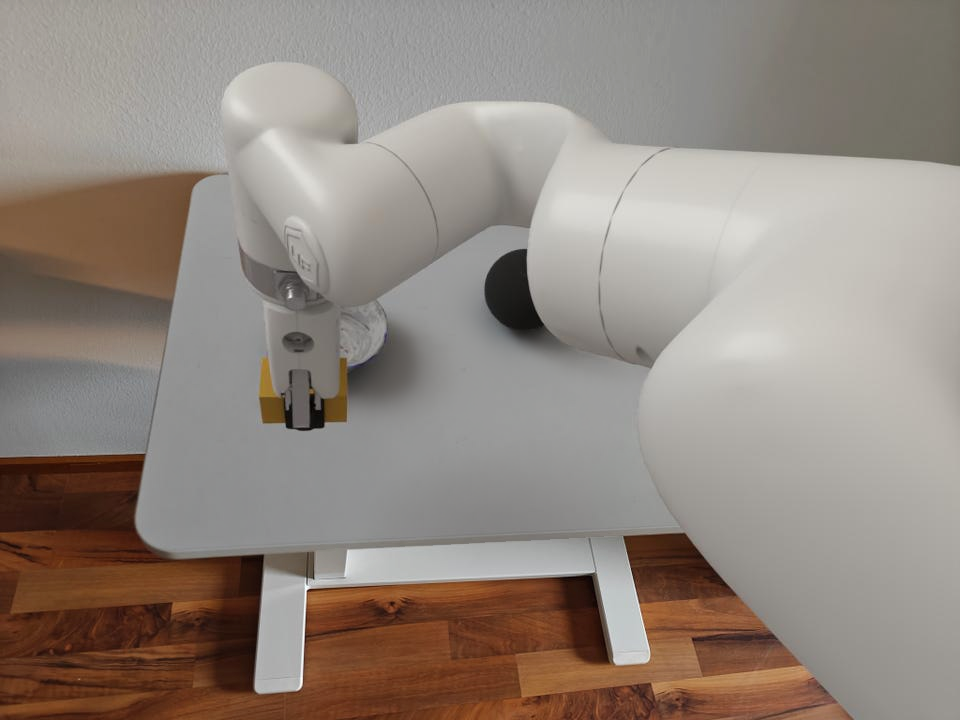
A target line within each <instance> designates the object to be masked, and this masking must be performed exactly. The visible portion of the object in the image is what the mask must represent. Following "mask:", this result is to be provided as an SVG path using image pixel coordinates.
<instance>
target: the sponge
mask: <svg viewBox="0 0 960 720" xmlns="http://www.w3.org/2000/svg"><path fill="white" fill-rule="evenodd" d="M260 363H261V364H260V379H259V392H258V400H259V407H260V415H261V420H262V424H285V414H284V404H283V401H284V398H285V396H282V399H281V398H279V397H278V396H277V395H276V394H275V393H274V390H273V386H272V380H271V373H270V366H269V358H268V357H262V358H261V362H260ZM309 392H310V394H314V389H309ZM324 411H325V423H347V421H348V373H347V358H340V370H339V392H338V394H337V395H336V396H335V397H334V398H327V399H324Z"/></svg>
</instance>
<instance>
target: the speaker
mask: <svg viewBox="0 0 960 720" xmlns="http://www.w3.org/2000/svg"><path fill="white" fill-rule="evenodd" d="M483 286H484V289H483V292H484V293H483V294H484V299H485V300H484V301H485V303H486V305H487V308H488V310H489V311H490V314H491V315H492V316H493V317H494V318H495V319H496V320H497V321H498V322H499V323H501V325H503V326H505V327H507V328H510V329H513V330H515V331H521V332H522V331H524V332H526V331H527V332H528V331H533V330H538V329H540V328H543V327H546V326H545V325H544V323H543V322H542V320H541V319H540V317H539V315H538V313H537V311H536V309H535V306H534V303H533V300H532V297H531V293H530V288H529V282H528V275H527V248H519V249H513V250H511V251H508V252H506V253H505V254H502V255H501V256H500V257H499V258H498V259H496V261H494V263H493V264H492V265H491V267H490V269H489V270H488V272H487V274H486V277H485V280H484V285H483Z"/></svg>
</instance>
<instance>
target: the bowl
mask: <svg viewBox="0 0 960 720" xmlns="http://www.w3.org/2000/svg"><path fill="white" fill-rule="evenodd" d="M388 333H389V322H388V317H387V314H386V311H385V310H384V308H383V306H382V305H381V304H380V302H379V300H377V299H376V300H374V301H372V302H370V303H368V304H365V305H362V306H358V307H343V306H340V358H347V374H348V373H350V372H351V371H354V370H355V369H356V368H358V367H360V366H362V365H365V364H366V363H368V362H370V361H371V360H372V359H373V358H375V357H377V356H378V354H379V353H380V351H381V350H382V349H383V347H384V345H386V342H387V337H388Z"/></svg>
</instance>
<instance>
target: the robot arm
mask: <svg viewBox="0 0 960 720" xmlns="http://www.w3.org/2000/svg"><path fill="white" fill-rule="evenodd" d="M220 124H221V131H222V139H223V145H224V153H225V159H226V160H225V161H226V166H227V172H228V181H229V188H230V194H231V200H232V201H231V202H232V210H233V215H234V216H233V217H234V223H235V231H236V237H237V238H236V239H237V245H238V253H239V259H240V266H241V273H242V277H243V279H244V281H245V283H246V285H247V286H248V288H249V289H250V290H251V291H252V292H253V293H254V294H255V295H257V296H259V297H260V298H261V300H262V301H261V302H262V310H263V311H262V312H263V322H264V331H265V340H266V341H265V342H266V350H267V358H269V366H270V373H271V380H272V386H273V390H274V393H275V394H276V395H277V396H278V397H279V398H281V399H282V396H285V398H284V401H283V404H284V414H285V423H284V424H285V428H286V429H288V430H296V431H299V432H310V431H313V430H319V429H323V428H325V426H326V425H325V423H326V422H325V411H324V399H327V398H334V397H335V396H336V395H337V394H338V392H339V370H340V306H343V307H358V306H362V305H365V304H368V303H370V302H372V301H374V300H377V299H380V298H381V297H383V296H384V295H386V294H388V293H389V292H391V291H392V290H394V289H395V288H396V287H398V286H400V285H402V284H403V283H404V282H406V281H407V280H409V279H411V278H412V277H413V276H415V275H417V274H418V273H420V272H421V271H423V270H424V269H426V268H427V267H429V266H430V265H432V264H433V263H435V262H436V261H437V260H439V259H441V258H442V257H444V256H445V255H447V254H448V253H450V252H451V251H454V249H456V248H458V247H459V246H461V245H463V244H464V243H466V242H467V241H469V240H470V239H472V238H474V237H475V236H477V235H479V234H480V233H482V232H484V231H485V230H486V229H488V228H491V227H495V226H508V227H509V226H510V227H517V228H524V229H529V230H528V231H529V233H528V239H527V248H526V249H527V275H528V282H529V288H530V293H531V297H532V300H533V303H534V306H535V309H536V311H537V313H538V315H539V317H540V319H541V320H542V322H543V323H544V325H545V326H544V327H546V329H547V330H548V331H549V332H550V333H551V334H552V335H553V336H554V337H556V338H557V339H558V340H559V341H560V342H562V343H564V345H565V344H566V345H568V346H569V347H571V348H575V349H577V350H580V351H583V352H587V353H591V354H594V355H599V356H602V357H606V358H610V359H614V360H617V361H621V362H624V363H627V364H631V365H638V366H641V367H644V368H648V369H650V370H649V372H648V374H647V376H646V378H645V380H644V382H643V385H642V387H641V390H640V395H639V398H638V401H637V406H636V407H637V408H636V433H637V438H638V445H639V449H640V454H641V457H642V461H643V464H644V466H645V469H646V470H647V473H648V475H649V477H650V480H651V482H652V483H653V485H654V488H655V491H656V492H657V494H658V496H659V498H660V499H661V501H662V503H663V504H664V506H665V507H666V509H667V511H668V512H669V514H670V515H671V516H672V518H673V519H674V520H675V522H676V523H677V524H678V526H679V527H680V528H681V530H682V531H683V532H684V533H685V535H686V536H687V538H688V540H690V541H691V543H692V544H693V546H694V547H695V548H696V549H697V550H698V552H699V553H700V554H701V556H702V557H703V558H704V560H706V562H707V563H708V564H709V565H710V566H711V568H712V569H713V570H714V571H715V572H716V573H717V575H718V576H719V577H720V578H721V579H722V580H723V582H725V584H726V585H727V586H728V587H729V588H730V589H731V590H732V591H733V592H734V593H735V595H736V596H737V597H738V598H739V599H740V600H741V601H742V603H744V605H745V606H747V608H749V609H750V611H751V612H752V613H753V614H754V615H755V616H756V617H757V618H758V619H759V620H760V622H761V623H762V624H763V625H764V626H765V627H766V628H767V629H768V630H769V631H770V632H771V634H773V635H774V637H776V639H777V640H778V641H779V642H780V643H781V644H782V645H783V646H784V647H785V648H786V649H787V650H788V652H790V654H792V656H794V657H795V658H796V660H797V661H798V662H799V663H800V664H801V665H802V666H803V667H804V668H805V669H806V670H807V672H809V674H810V675H811V676H812V677H813V678H814V679H815V680H816V681H817V682H818V683H819V685H821V687H823V689H824V690H825V691H826V692H828V694H829V695H830V696H831V697H832V698H833V699H834V700H835V701H836V702H837V703H838V704H839V705H840V707H841V708H842V709H843V710H844V711H845V712H846V713H847V714H848V715H849V716H850V717H851V719H852V720H960V165H953V164H947V163H941V162H934V161H925V160H911V159H899V158H880V157H862V156H844V155H827V154H809V153H806V154H805V153H804V154H803V153H790V152H767V151H765V152H764V151H750V150H749V151H745V150H730V149H729V150H727V149H709V148H708V149H707V148H689V147H678V146H652V145H638V144H629V143H628V144H627V143H617V142H615V141H614V140H613V139H612V138H611V136H610V135H609V134H608V133H606V132H605V131H604V130H603V129H601V128H600V127H599V126H598V125H597V124H595V123H593V122H592V121H590V120H589V119H586V118H584V116H582V115H580V114H578V113H576V112H575V111H574V110H572V109H570V108H567V107H565V106H563V105H559V104H556V103H551V102H545V101H544V102H543V101H530V100H529V101H527V100H508V101H507V100H475V101H462V102H461V101H460V102H453V103H449V104H445V105H440V106H437V107H435V108H431V109H429V110H427V111H425V112H422V113H421V114H418V115H415V116H414V117H411V118H409V119H407V120H404V121H402V122H400V123H398V124H395V125H394V126H391V127H390V128H388V129H386V130H384V131H381V132H380V133H377V134H375V135H373V136H370V137H369V138H367V139H365V140H363V141H360V142H359V113H358V107H357V104H356V102H355V100H354V97H353V95H352V93H351V91H350V90H349V88H347V86H346V85H345V84H344V83H343V82H342V81H341V80H340V79H339V78H337V77H336V76H335V75H333V74H331V73H330V72H328V71H326V70H324V69H321V68H319V67H317V66H314V65H311V64H306V63H302V62H296V61H295V62H294V61H272V62H266V63H262V64H257V65H255V66H253V67H250V68H248V69H245V70H244V71H242V72H240V73H239V74H237V75H236V76H235V77H234V78H233V79H232V80H231V81H230V82H229V84H228V85H227V86H226V88H225V90H224V93H223V96H222V98H221V103H220ZM309 389H314V394H310V392H309Z"/></svg>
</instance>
